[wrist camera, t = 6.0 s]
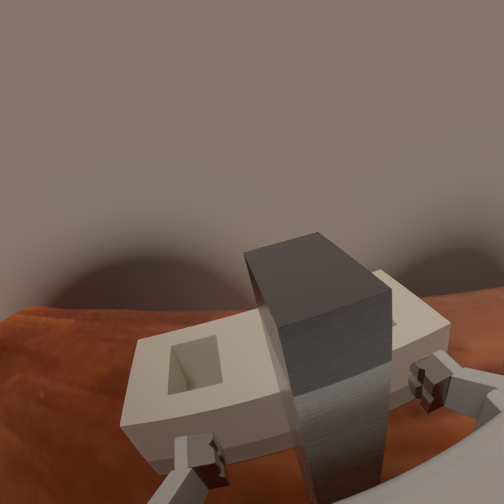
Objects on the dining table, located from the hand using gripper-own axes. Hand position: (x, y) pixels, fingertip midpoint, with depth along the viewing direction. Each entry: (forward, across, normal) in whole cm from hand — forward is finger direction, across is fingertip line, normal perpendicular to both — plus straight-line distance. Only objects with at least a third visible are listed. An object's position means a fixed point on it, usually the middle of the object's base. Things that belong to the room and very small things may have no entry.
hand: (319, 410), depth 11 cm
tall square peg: (-1, 0, +10) cm, 10 cm away
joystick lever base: (+10, 0, +10) cm, 14 cm away
